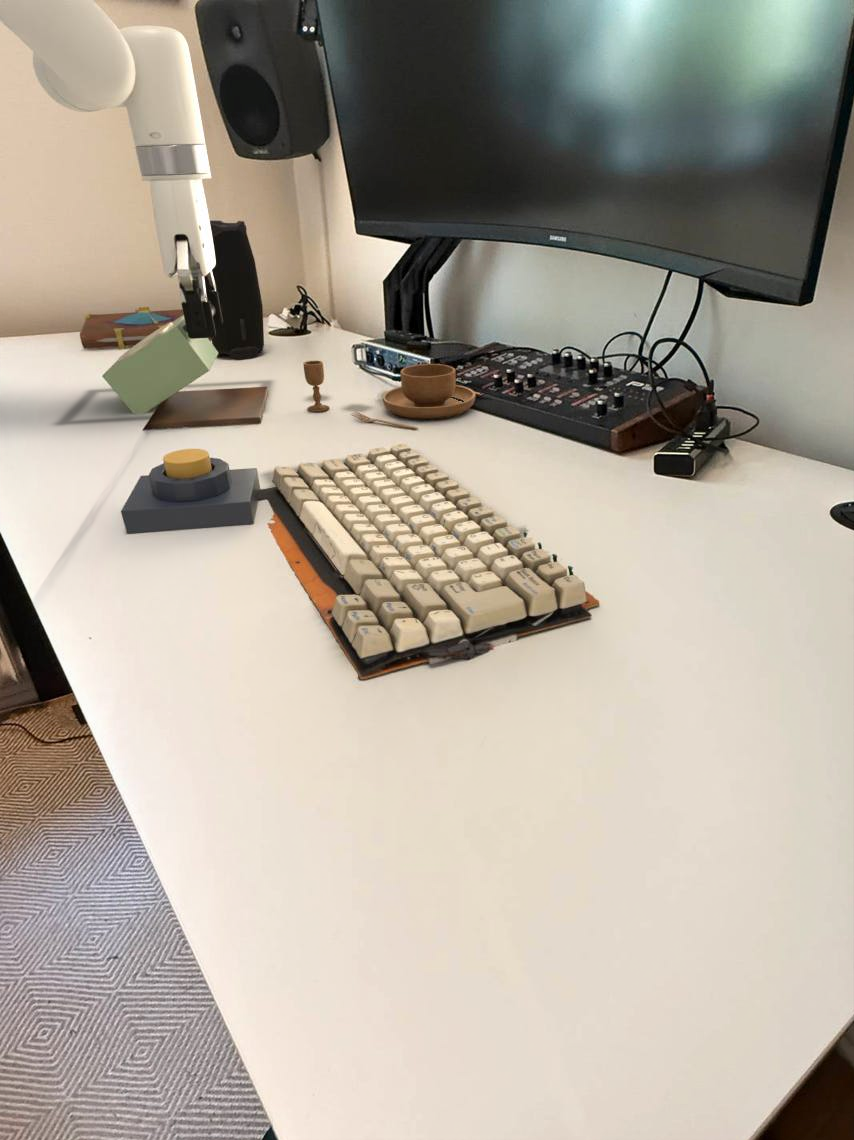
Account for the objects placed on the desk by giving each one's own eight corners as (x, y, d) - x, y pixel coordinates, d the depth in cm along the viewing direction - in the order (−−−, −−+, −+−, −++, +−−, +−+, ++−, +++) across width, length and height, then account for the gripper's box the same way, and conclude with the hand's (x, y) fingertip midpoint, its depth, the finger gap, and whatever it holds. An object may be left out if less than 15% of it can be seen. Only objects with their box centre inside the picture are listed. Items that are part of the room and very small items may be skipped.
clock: (99, 373, 95) (199, 306, 93) (118, 355, 104) (209, 293, 102) (137, 418, 99) (233, 354, 97) (152, 397, 107) (241, 338, 105)
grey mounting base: (126, 534, 71) (115, 491, 69) (146, 496, 78) (136, 457, 76) (253, 524, 72) (246, 482, 70) (260, 488, 80) (253, 449, 78)
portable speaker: (215, 350, 135) (191, 220, 125) (271, 348, 136) (252, 218, 126) (207, 361, 128) (182, 224, 118) (267, 359, 129) (246, 222, 119)
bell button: (163, 483, 72) (159, 464, 71) (170, 468, 75) (166, 449, 74) (209, 480, 72) (205, 461, 71) (214, 465, 75) (211, 447, 74)
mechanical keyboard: (240, 496, 79) (234, 463, 78) (418, 466, 86) (416, 435, 85) (367, 695, 51) (362, 650, 49) (617, 625, 58) (621, 584, 56)
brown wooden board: (65, 435, 96) (63, 428, 96) (95, 401, 109) (93, 395, 108) (260, 423, 99) (259, 416, 99) (268, 392, 112) (267, 386, 111)
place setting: (430, 433, 94) (428, 382, 91) (300, 411, 103) (294, 364, 100) (501, 398, 107) (501, 352, 104) (380, 381, 116) (377, 338, 113)
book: (231, 346, 142) (226, 316, 139) (82, 357, 136) (73, 326, 133) (227, 324, 155) (223, 296, 152) (91, 333, 149) (83, 305, 146)
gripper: (154, 164, 97) (186, 320, 106) (122, 167, 82) (163, 348, 92) (217, 162, 98) (243, 317, 107) (197, 165, 83) (230, 344, 93)
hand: (206, 330), depth 99 cm, fingers closed on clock, 6 cm apart
